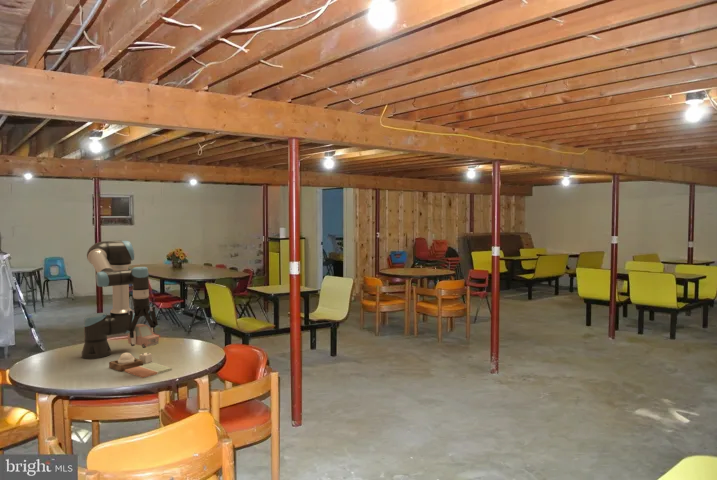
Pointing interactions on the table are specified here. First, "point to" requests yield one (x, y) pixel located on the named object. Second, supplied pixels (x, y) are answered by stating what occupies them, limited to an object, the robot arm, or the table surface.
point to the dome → (125, 358)
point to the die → (146, 357)
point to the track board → (148, 370)
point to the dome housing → (125, 365)
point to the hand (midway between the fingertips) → (142, 342)
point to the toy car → (144, 336)
